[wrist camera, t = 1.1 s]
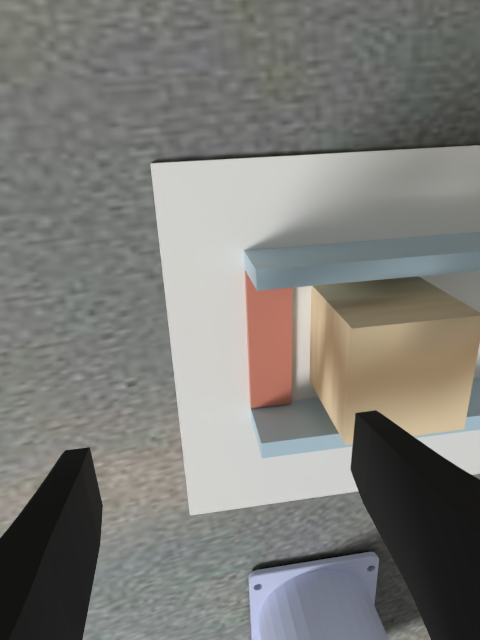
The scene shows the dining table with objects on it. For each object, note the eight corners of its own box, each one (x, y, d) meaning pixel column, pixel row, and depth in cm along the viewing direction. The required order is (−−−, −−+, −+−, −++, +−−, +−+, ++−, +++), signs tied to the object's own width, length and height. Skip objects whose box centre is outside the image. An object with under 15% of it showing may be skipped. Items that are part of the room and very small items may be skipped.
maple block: (405, 370, 23) (464, 429, 19) (309, 381, 23) (345, 444, 18) (416, 275, 21) (484, 315, 17) (311, 284, 21) (352, 328, 16)
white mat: (579, 455, 28) (583, 458, 27) (189, 511, 25) (189, 515, 25) (676, 134, 21) (683, 134, 20) (150, 163, 18) (150, 163, 18)
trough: (491, 389, 24) (532, 422, 22) (250, 419, 23) (261, 458, 20) (523, 228, 21) (576, 243, 18) (243, 250, 20) (256, 270, 17)
